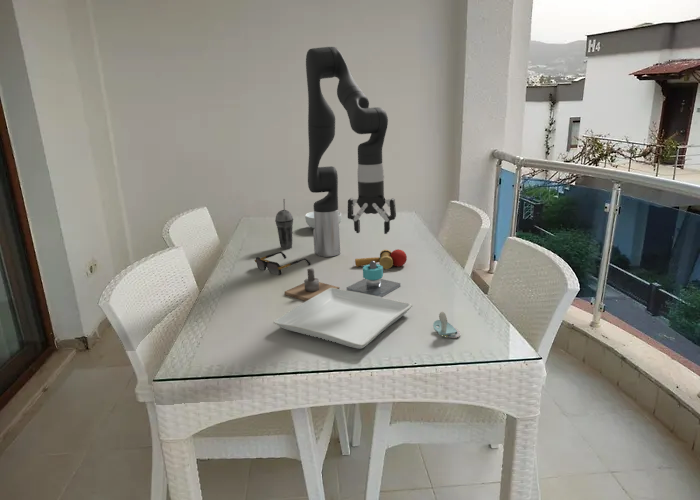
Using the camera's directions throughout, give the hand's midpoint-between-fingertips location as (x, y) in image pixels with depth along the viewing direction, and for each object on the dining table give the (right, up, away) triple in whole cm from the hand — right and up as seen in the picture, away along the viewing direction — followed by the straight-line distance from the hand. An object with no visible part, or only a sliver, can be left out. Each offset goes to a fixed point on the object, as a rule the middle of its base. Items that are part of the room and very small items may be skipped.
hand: (372, 232), depth 147 cm
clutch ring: (0, -13, +4) cm, 14 cm away
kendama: (+4, -11, +25) cm, 28 cm away
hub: (+1, -17, +5) cm, 18 cm away
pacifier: (+18, -26, -26) cm, 41 cm away
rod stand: (-18, -18, +4) cm, 26 cm away
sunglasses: (-31, -12, +29) cm, 44 cm away
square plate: (-8, -25, -17) cm, 31 cm away
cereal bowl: (-19, +5, +79) cm, 81 cm away
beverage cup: (-32, -4, +52) cm, 61 cm away
